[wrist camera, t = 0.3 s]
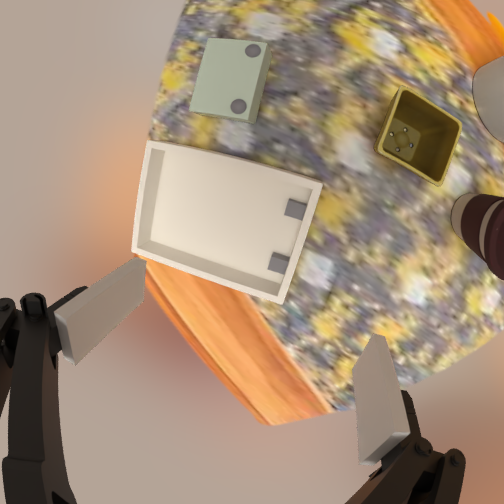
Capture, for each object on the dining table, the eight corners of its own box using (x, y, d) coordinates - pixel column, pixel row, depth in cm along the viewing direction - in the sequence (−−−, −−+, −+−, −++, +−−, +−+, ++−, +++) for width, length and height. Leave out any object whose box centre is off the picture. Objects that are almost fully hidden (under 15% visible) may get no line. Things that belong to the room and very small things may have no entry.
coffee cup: (435, 238, 35) (484, 278, 21) (451, 175, 32) (511, 188, 18) (479, 253, 34) (530, 293, 20) (495, 195, 30) (555, 217, 17)
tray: (164, 140, 39) (147, 140, 34) (321, 181, 37) (323, 184, 32) (147, 242, 45) (131, 251, 41) (285, 288, 43) (282, 304, 38)
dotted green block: (219, 49, 33) (208, 37, 28) (272, 55, 32) (267, 42, 27) (202, 115, 37) (188, 110, 32) (255, 124, 36) (247, 119, 31)
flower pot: (361, 152, 34) (376, 150, 26) (382, 98, 31) (401, 83, 23) (414, 181, 34) (441, 188, 25) (434, 128, 30) (464, 123, 22)
